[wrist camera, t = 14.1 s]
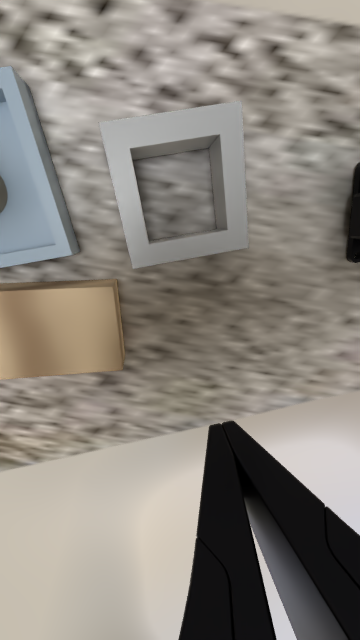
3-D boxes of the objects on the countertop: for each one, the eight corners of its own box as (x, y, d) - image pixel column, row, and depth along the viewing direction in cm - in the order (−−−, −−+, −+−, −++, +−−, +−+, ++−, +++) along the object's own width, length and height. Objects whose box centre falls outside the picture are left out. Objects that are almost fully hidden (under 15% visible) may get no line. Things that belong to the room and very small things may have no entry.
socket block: (226, 120, 14) (241, 100, 12) (235, 244, 17) (249, 247, 15) (106, 139, 14) (98, 122, 12) (135, 262, 17) (132, 269, 14)
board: (117, 277, 17) (112, 286, 15) (125, 352, 19) (122, 370, 17) (-37, 283, 16) (-68, 294, 14) (-10, 361, 18) (-32, 382, 16)
